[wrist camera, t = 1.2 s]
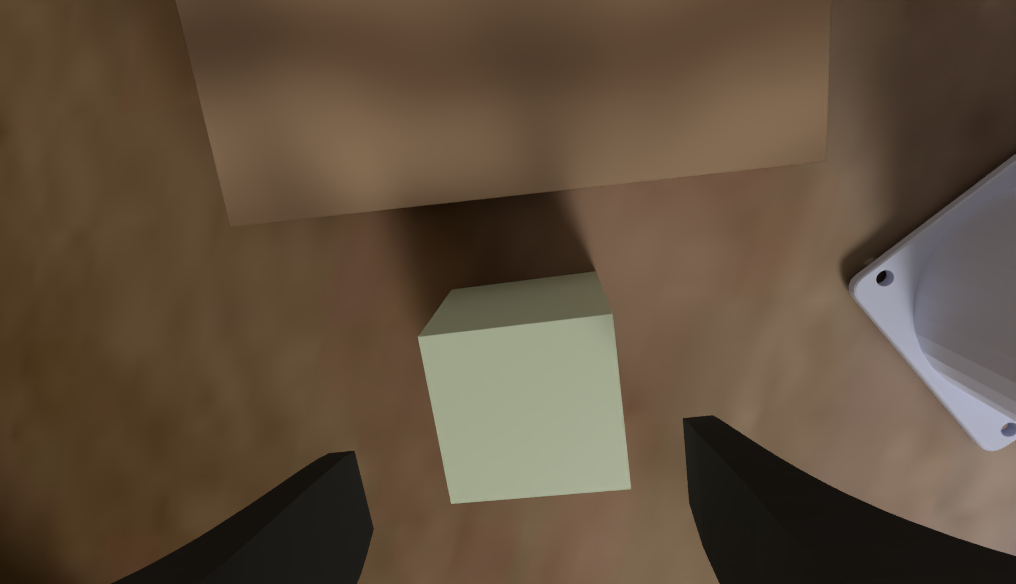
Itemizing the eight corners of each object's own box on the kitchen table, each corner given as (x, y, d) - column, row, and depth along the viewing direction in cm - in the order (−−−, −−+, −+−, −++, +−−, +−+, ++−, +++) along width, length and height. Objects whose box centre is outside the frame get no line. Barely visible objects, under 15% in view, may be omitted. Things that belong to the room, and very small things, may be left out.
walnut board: (187, -75, 16) (151, -98, 15) (809, -182, 14) (838, -220, 13) (255, 220, 18) (230, 226, 17) (801, 160, 17) (826, 161, 15)
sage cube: (595, 270, 18) (612, 313, 13) (610, 404, 19) (630, 488, 14) (451, 288, 19) (417, 336, 14) (475, 418, 20) (451, 503, 15)
